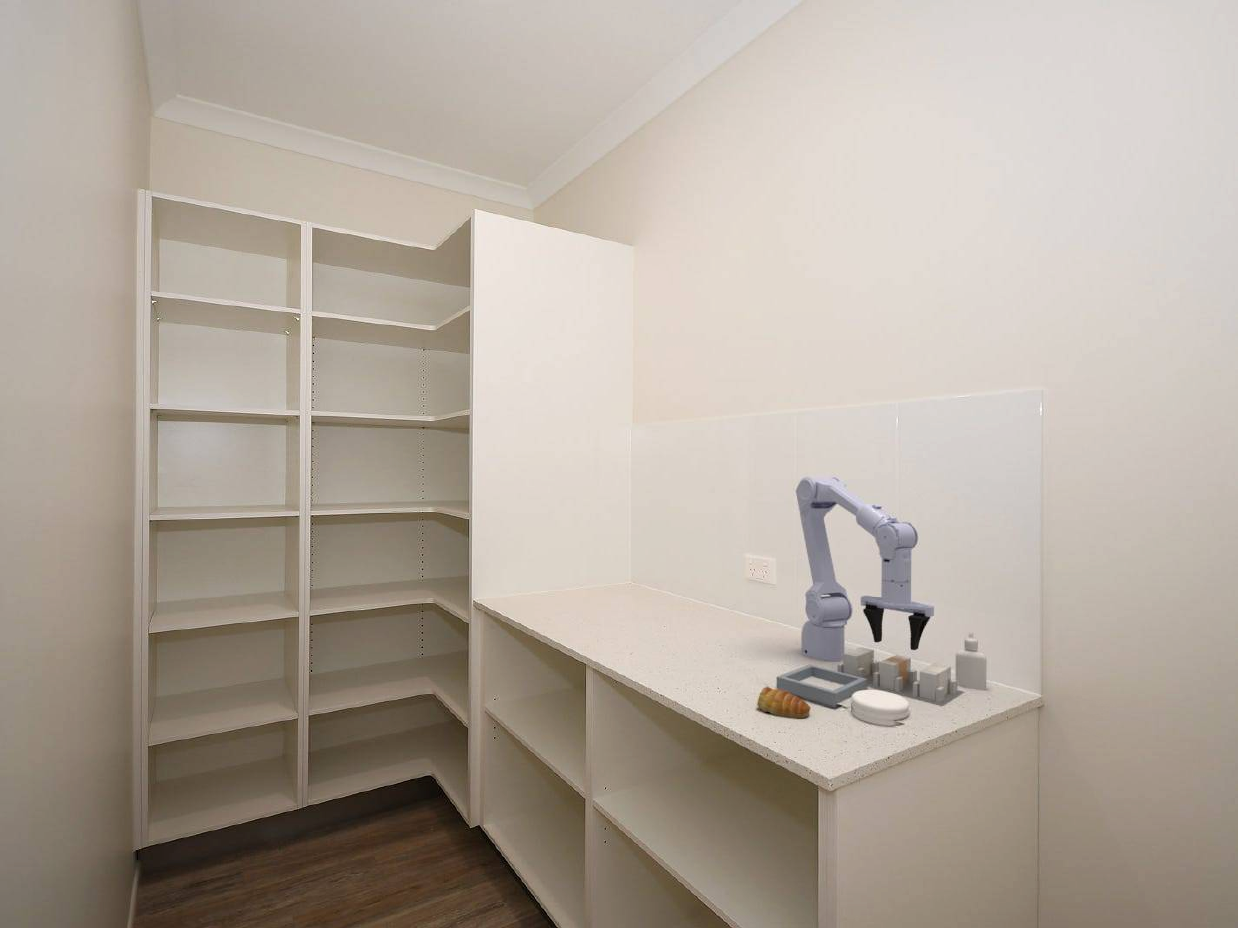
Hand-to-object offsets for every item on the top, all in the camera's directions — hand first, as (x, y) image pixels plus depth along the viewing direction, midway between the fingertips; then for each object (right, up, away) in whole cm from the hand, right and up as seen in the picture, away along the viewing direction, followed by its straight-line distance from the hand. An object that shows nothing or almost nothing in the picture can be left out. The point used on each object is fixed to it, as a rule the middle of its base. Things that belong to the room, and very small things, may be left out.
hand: (895, 645), depth 133 cm
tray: (-16, -9, -3) cm, 19 cm away
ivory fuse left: (-6, -8, +6) cm, 11 cm away
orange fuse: (0, -8, 0) cm, 8 cm away
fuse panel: (0, -9, 0) cm, 9 cm away
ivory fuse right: (+5, -8, -6) cm, 11 cm away
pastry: (-27, -9, -13) cm, 31 cm away
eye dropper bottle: (+15, -10, -1) cm, 18 cm away
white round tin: (-10, -9, -15) cm, 20 cm away
